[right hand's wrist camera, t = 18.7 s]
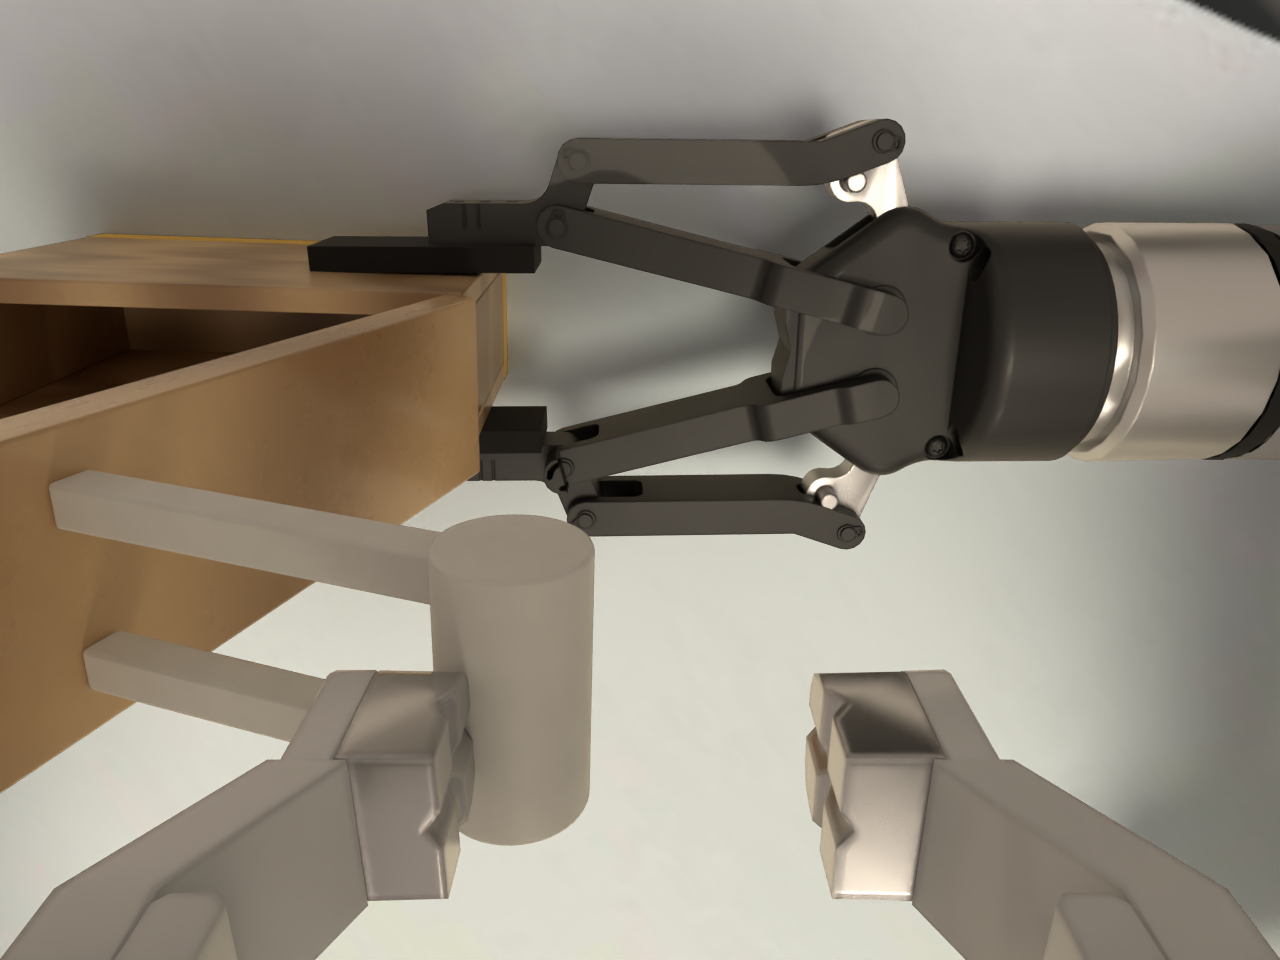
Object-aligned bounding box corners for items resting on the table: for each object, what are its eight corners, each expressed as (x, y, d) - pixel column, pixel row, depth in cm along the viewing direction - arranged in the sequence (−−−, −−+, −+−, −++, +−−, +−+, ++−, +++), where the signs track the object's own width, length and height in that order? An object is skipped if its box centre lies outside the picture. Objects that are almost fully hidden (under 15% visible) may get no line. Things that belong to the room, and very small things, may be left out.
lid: (-167, 851, 11) (459, 1079, 9) (-290, 497, 10) (438, 661, 7) (450, 467, 25) (761, 515, 23) (443, 294, 23) (778, 326, 21)
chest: (123, 362, 35) (-68, 450, 25) (102, 233, 33) (-112, 273, 23) (507, 373, 35) (468, 463, 25) (505, 247, 34) (463, 292, 24)
